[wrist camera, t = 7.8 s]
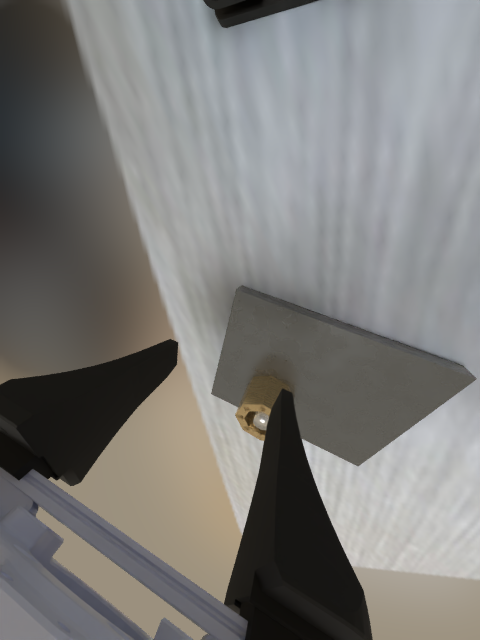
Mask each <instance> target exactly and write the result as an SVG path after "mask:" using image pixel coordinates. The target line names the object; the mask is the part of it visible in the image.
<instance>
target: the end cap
mask: <svg viewBox="0 0 480 640" xmlns="http://www.w3.org/2000/svg"><path fill="white" fill-rule="evenodd" d="M314 1H317V0H204V2H205V4H206V5H207V6H208V7H210V8H212V9H215V15H216V17H217V19H218V21H219V23H220V24H221V26H222V27H226V28H227V27H230V26H234V25H237V24H240V23H244V22H247V21H250V20H254V19H257V18H260V17H264V16H267V15H270V14H274V13H277V12H280V11H284V10H287V9H290V8H294V7H297V6H300V5H304V4H307V3H310V2H314Z"/></svg>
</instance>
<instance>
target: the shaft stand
mask: <svg viewBox="0 0 480 640" xmlns="http://www.w3.org/2000/svg"><path fill="white" fill-rule="evenodd" d="M269 375H271V376H273V377H275V378H276V379H278V380H280V381H282V382H284V383H285V384H287V385H288V386H289V388H290V391H291V392H292V393H293V398H294V405H295V411H296V417H297V422H298V426H299V431H300V435H301V438H302V439H304V440H306V441H308V442H310V443H312V444H314V445H316V446H318V447H320V448H322V449H324V450H326V451H328V452H330V453H332V454H334V455H336V456H338V457H340V458H342V459H344V460H346V461H348V462H350V463H352V464H354V465H357V466H359V465H361V464H362V463H363V462H365V461H366V460H367V459H369V458H370V457H371V456H373V455H374V454H376V453H377V452H378V451H380V450H381V449H382V448H384V447H385V446H386V445H388V444H389V443H391V442H392V441H393V440H395V439H396V438H397V437H399V436H400V435H401V434H403V433H404V432H405V431H407V430H408V429H410V428H411V427H412V426H414V425H415V424H416V423H418V422H419V421H420V420H422V419H423V418H425V417H426V416H427V415H429V414H430V413H431V412H433V411H434V410H435V409H437V408H438V407H439V406H441V405H442V404H444V403H445V402H446V401H448V400H449V399H450V398H452V397H453V396H454V395H456V394H457V393H458V392H460V391H461V390H463V389H464V388H465V387H467V386H468V385H469V384H471V383H472V382H473V381H475V380H476V378H475V377H474V376H473V375H472V374H471V373H470V372H469V371H468V370H467V369H466V368H465V367H464V366H461V365H459V364H456V363H453V362H450V361H448V360H445V359H442V358H439V357H437V356H434V355H431V354H429V353H426V352H423V351H420V350H418V349H415V348H412V347H409V346H407V345H404V344H401V343H398V342H396V341H393V340H390V339H387V338H385V337H382V336H379V335H376V334H374V333H371V332H368V331H365V330H363V329H360V328H357V327H354V326H352V325H349V324H346V323H343V322H341V321H338V320H335V319H332V318H330V317H327V316H324V315H321V314H319V313H316V312H313V311H310V310H308V309H305V308H302V307H299V306H297V305H294V304H291V303H288V302H286V301H283V300H280V299H277V298H275V297H272V296H269V295H266V294H264V293H261V292H258V291H255V290H253V289H250V288H247V287H244V286H240V287H239V288H238V289H237V290H236V294H235V298H234V302H233V306H232V310H231V314H230V319H229V323H228V327H227V331H226V335H225V339H224V343H223V347H222V352H221V356H220V360H219V364H218V368H217V372H216V376H215V380H214V384H213V389H212V393H211V394H212V395H214V396H217V397H219V398H221V399H223V400H225V401H227V402H229V403H231V404H233V405H235V406H237V407H239V405H240V402H241V400H242V398H243V395H244V393H245V390H246V388H247V386H248V385H249V383H250V382H251V380H252V378H253V377H257V376H269ZM268 420H269V415H267V414H266V413H264V412H262V411H256V413H255V416H254V420H253V423H254V425H255V426H256V427H257V428H259V429H261V430H266V428H267V423H268Z"/></svg>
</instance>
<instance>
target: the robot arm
mask: <svg viewBox="0 0 480 640" xmlns="http://www.w3.org/2000/svg"><path fill="white" fill-rule="evenodd" d="M177 353H178V342H176V341H174V340H171V339H169V340H167V341H164V342H162V343H159V344H157V345H154V346H152V347H150V348H147V349H144V350H142V351H139V352H137V353H134V354H131V355H128V356H125V357H122V358H119V359H116V360H113V361H110V362H106V363H103V364H99V365H95V366H91V367H87V368H82V369H78V370H73V371H68V372H62V373H57V374H50V375H44V376H36V377H28V378H20V379H11V380H8V381H7V382H5V383H3V384H1V385H0V640H193V639H192V638H191V637H189V636H188V635H187V634H185V633H184V632H183V631H181V630H180V629H179V628H178V627H176V626H175V625H174V624H172V623H171V622H170V621H169V620H167V619H166V618H163V619H162V620H161V623H160V625H159V627H158V630H157V633H156V635H155V638H154V639H153V638H151V637H150V636H149V635H148V634H147V633H146V632H144V631H143V630H142V629H141V628H140V627H138V626H137V625H136V624H135V623H134V622H132V621H131V620H130V619H129V618H128V617H126V616H125V615H124V614H123V613H122V612H121V611H119V610H118V609H117V608H116V607H115V606H113V605H112V604H111V603H110V602H108V601H107V600H106V599H105V598H103V597H102V596H101V595H100V594H98V593H97V592H96V591H95V590H93V589H92V588H91V587H89V586H88V585H87V584H86V583H84V582H83V581H82V580H81V579H79V578H78V577H76V576H75V575H74V574H73V573H72V572H70V571H69V570H68V569H66V568H65V567H64V566H63V565H61V564H60V563H59V562H57V561H56V560H55V559H53V558H52V556H53V554H54V553H55V552H56V551H57V550H58V548H59V547H60V546H61V544H62V543H63V538H61V537H60V536H59V535H57V534H56V533H55V532H54V531H52V530H51V529H50V528H49V527H47V526H46V525H45V524H43V523H42V522H41V521H40V520H38V519H37V518H36V513H37V511H38V506H40V507H41V508H42V509H44V510H45V511H46V512H48V513H49V514H50V515H52V516H53V517H54V518H56V519H57V520H58V521H60V522H61V523H62V524H63V525H65V526H66V527H67V528H69V529H70V530H72V531H73V532H74V533H75V534H77V535H78V536H79V537H81V538H82V539H83V540H85V541H86V542H87V543H89V544H90V545H91V546H93V547H94V548H95V549H97V550H98V551H100V552H101V553H102V554H103V555H105V556H106V557H107V558H109V559H110V560H111V561H112V562H114V563H115V564H116V565H118V566H119V567H121V568H122V569H123V570H124V571H126V572H127V573H128V574H130V575H131V576H132V577H134V578H135V579H136V580H138V581H139V582H140V583H142V584H143V585H144V586H146V587H147V588H148V589H150V590H151V591H152V592H154V593H155V594H156V595H158V596H159V597H160V598H162V599H163V600H164V601H166V602H167V603H168V604H170V605H171V606H172V607H173V608H175V609H176V610H177V611H179V612H180V613H181V614H183V615H184V616H185V617H187V618H188V619H189V620H191V621H192V622H193V623H195V624H196V625H197V626H199V627H200V628H201V629H203V630H204V631H205V632H207V633H208V634H209V635H208V634H207V635H205V636H203V638H202V639H201V640H372V633H371V626H370V620H369V615H368V609H367V605H366V601H365V595H364V591H363V589H362V587H361V585H360V583H359V581H358V579H357V577H356V574H355V573H354V570H353V568H352V566H351V564H350V562H349V560H348V558H347V556H346V554H345V552H344V550H343V548H342V545H341V543H340V541H339V539H338V537H337V534H336V532H335V530H334V528H333V525H332V523H331V521H330V518H329V516H328V514H327V511H326V509H325V506H324V504H323V501H322V499H321V497H320V494H319V492H318V489H317V486H316V483H315V481H314V478H313V475H312V472H311V469H310V466H309V463H308V460H307V457H306V454H305V450H304V446H303V443H302V439H301V435H300V431H299V426H298V422H297V417H296V411H295V405H294V398H293V393H292V392H290V391H287V390H285V389H283V388H282V389H281V391H280V393H279V395H278V397H277V399H276V401H275V403H274V405H273V407H272V409H271V412H270V416H269V420H268V423H267V428H266V434H265V440H264V446H263V452H262V458H261V464H260V469H259V474H258V478H257V482H256V486H255V490H254V494H253V498H252V502H251V506H250V510H249V513H248V517H247V521H246V525H245V528H244V532H243V536H242V539H241V543H240V547H239V550H238V554H237V557H236V561H235V564H234V568H233V571H232V575H231V578H230V582H229V586H228V589H227V593H226V598H225V602H224V604H223V603H221V602H220V601H219V600H217V599H216V598H214V597H213V596H212V595H210V594H209V593H207V592H206V591H205V590H203V589H202V588H200V587H199V586H197V585H196V584H195V583H193V582H192V581H190V580H189V579H188V578H186V577H185V576H183V575H182V574H180V573H179V572H178V571H176V570H175V569H173V568H172V567H171V566H169V565H168V564H166V563H165V562H164V561H162V560H161V559H159V558H158V557H156V556H155V555H153V554H152V553H151V552H150V551H148V550H147V549H145V548H144V547H142V546H141V545H140V544H138V543H137V542H135V541H134V540H132V539H131V538H130V537H128V536H127V535H125V534H124V533H123V532H121V531H120V530H118V529H117V528H116V527H114V526H113V525H111V524H110V523H108V522H107V521H106V520H104V519H103V518H101V517H100V516H99V515H97V514H96V513H94V512H93V511H92V510H90V509H89V508H87V507H86V506H85V505H83V504H82V503H80V502H79V501H78V500H76V499H75V498H73V497H72V496H70V495H69V494H68V493H66V492H65V491H63V490H62V489H61V488H59V487H58V486H56V485H55V484H54V483H52V482H51V481H49V480H48V479H49V478H50V477H52V478H54V479H55V480H58V479H59V478H60V479H61V480H63V481H64V482H66V483H67V484H69V485H70V486H74V485H76V484H78V483H80V482H81V481H82V480H83V478H84V477H85V475H86V474H87V473H88V471H89V470H90V468H91V467H92V465H93V464H94V463H95V461H96V460H97V458H98V457H99V456H100V454H101V453H102V452H103V450H104V449H105V448H106V446H107V445H108V444H109V442H110V441H111V440H112V438H113V437H114V436H115V434H116V433H117V432H118V431H119V429H120V428H121V427H122V426H123V424H124V423H125V422H126V421H127V419H128V418H129V417H130V416H131V415H132V413H133V412H134V411H135V410H136V409H137V407H138V406H139V405H140V404H141V403H142V402H143V401H144V400H145V399H146V398H147V397H148V396H149V395H150V394H151V393H152V392H153V391H154V390H155V389H156V388H157V387H158V386H159V385H160V384H161V383H162V382H163V381H164V380H165V379H166V378H167V377H168V375H169V374H170V373H171V371H172V370H173V369H174V367H175V366H176V365H177Z"/></svg>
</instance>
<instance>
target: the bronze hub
mask: <svg viewBox="0 0 480 640" xmlns="http://www.w3.org/2000/svg"><path fill="white" fill-rule="evenodd" d="M282 388H283V389H285V390H287V391H290V388H289V386H288V385H287V384H285V383H284V382H282V381H280V380H278V379H276V378H275V377H273V376H271V375H269V376H257V377H253V378H252V380H251V382H250V383H249V385H248V386H247V388H246V390H245V393H244V395H243V398H242V400H241V402H240V405H239V407H238V410H237V412H236V415H235V416H236V418H237V419H238V421H239V423H240V425H241V427H242V429H243V430H244V431H246V432H248V433H249V434H251V435H253V436H254V437H256V438H258V439H259V440H263V441H264V440H265V434H266V430H261V429H259V428H257V427H256V426H255V425H254V423H253V420H254V416H255V413H256V411H262V412H264V413H266V414H267V415H269V416H270V412H271V409H272V407H273V405H274V403H275V401H276V399H277V397H278V395H279V393H280V391H281V389H282ZM290 392H291V391H290Z"/></svg>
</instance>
